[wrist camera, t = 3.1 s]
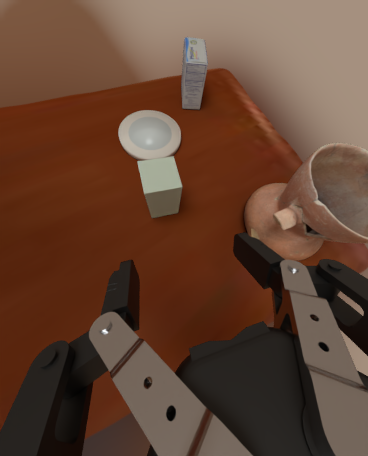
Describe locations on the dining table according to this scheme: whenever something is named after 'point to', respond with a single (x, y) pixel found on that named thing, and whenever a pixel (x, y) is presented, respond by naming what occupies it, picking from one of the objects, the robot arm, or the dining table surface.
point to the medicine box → (193, 72)
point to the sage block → (161, 185)
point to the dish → (149, 135)
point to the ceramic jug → (314, 204)
